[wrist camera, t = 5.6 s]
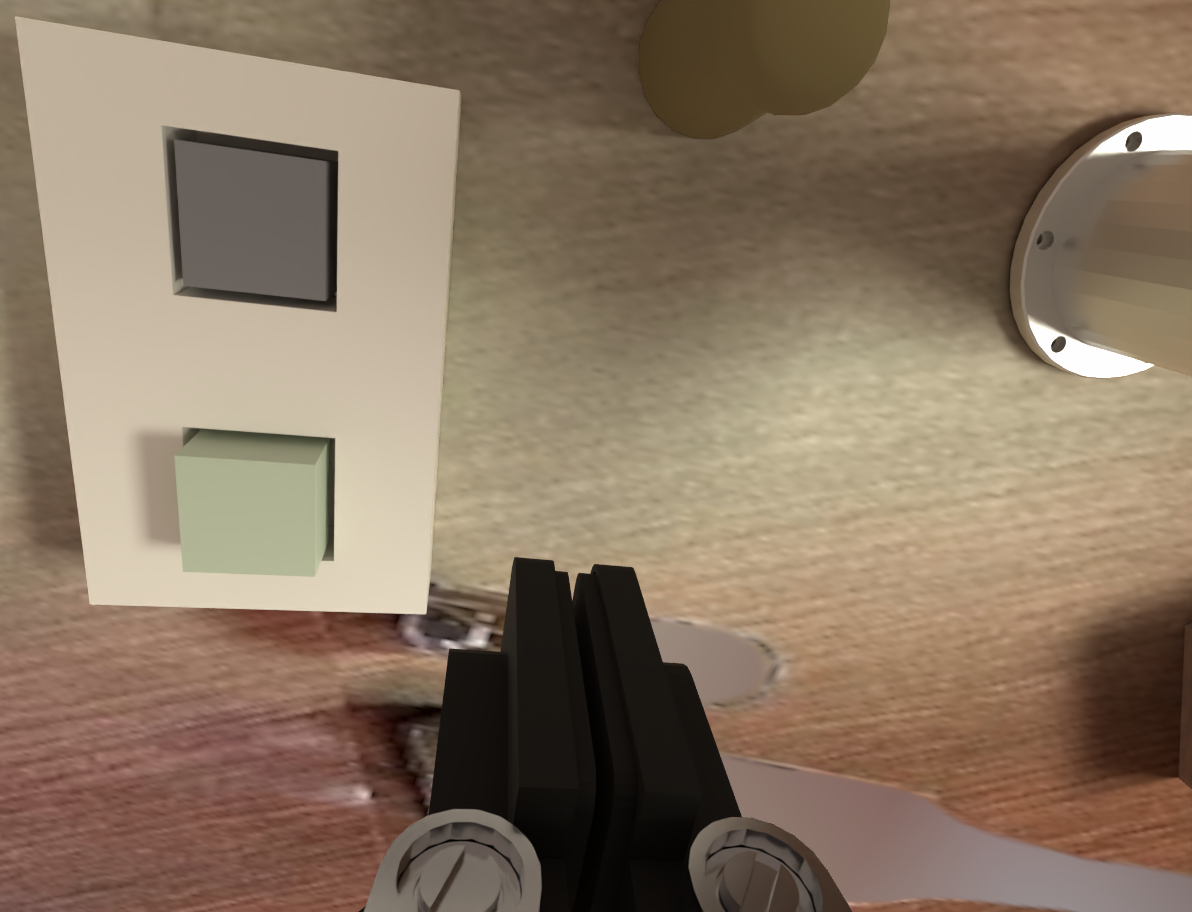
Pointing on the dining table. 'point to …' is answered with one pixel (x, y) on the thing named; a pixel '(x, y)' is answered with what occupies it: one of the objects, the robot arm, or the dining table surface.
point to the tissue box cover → (1186, 712)
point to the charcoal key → (257, 220)
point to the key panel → (242, 308)
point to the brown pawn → (754, 58)
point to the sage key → (253, 503)
